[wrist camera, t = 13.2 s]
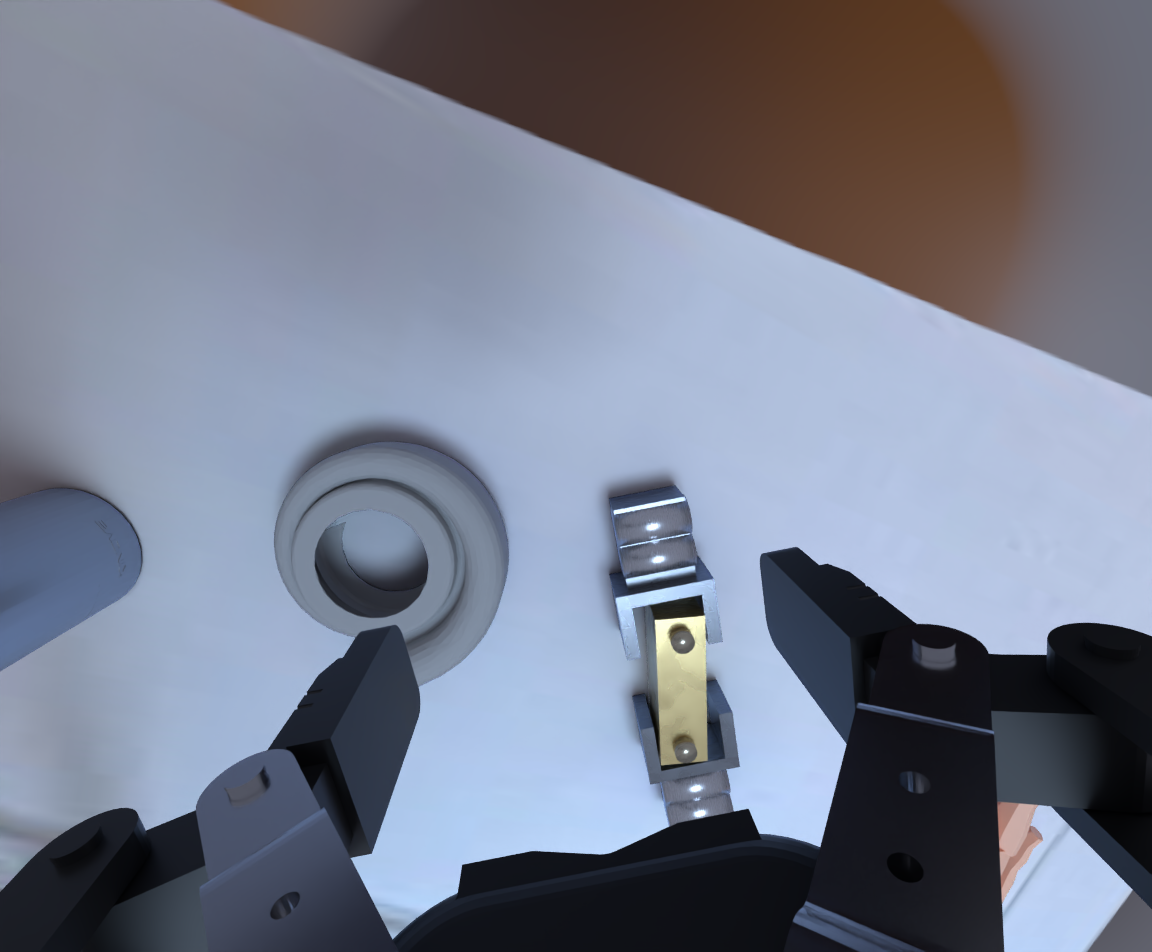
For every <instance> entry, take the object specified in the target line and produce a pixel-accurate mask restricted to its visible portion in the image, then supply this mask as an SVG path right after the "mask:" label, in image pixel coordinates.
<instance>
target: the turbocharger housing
mask: <svg viewBox="0 0 1152 952" xmlns="http://www.w3.org/2000/svg"><path fill="white" fill-rule="evenodd" d="M363 510H375V511H380V512H385V513H389V514H391V515H393V516H395V517H397V518H399V519H401V520H403V521H404V522H405V523H406V524H408V525H409V526H410V527H411V528H412V529H413V530H414V531H415V533H416V534H417V535H418V537H419V538H420V539H421V541H422V543H423V545H424V548H425V550H426V553H427V558H428V575H427V581H426V582H425V583H423V584H422V585H420V586H418V587H416V588H413V589H410V590H408V591H397V592H390V591H386V590H381V589H377V588H375V587H373V586H371V585H369V584H367V583H365V582H364V581H363V580H362V579H360V578H359V577H358V576H357V575H356V574H355V573H354V571H353V570H352V569H351V567H350V566H349V565H348V563H347V560H346V557H345V554H344V552H343V546H342V534H343V529H344V525H345V523H346V522H344V523H342V524H339V525H337V526H334V527H332V528H329V529H327V530H325V529H326V528H327V527H328V526H329V525H331V524H332V523H333V522H334V521H335V520H337V519H338V518H339V517H342V516H344V515H346V514H349V513H351V512H354V511H363ZM274 548H275V558H276V562H277V566H278V570H279V573H280V575H281V578H282V580H283V583H284V584H285V586H286V588H287V590H288V592H289V593H290V594H291V596H292V597H293V598H294V600H295V601H296V602H297V604H298V605H299V606H300V607H301V608H302V609H303V610H304V611H305V612H306V613H307V614H308V615H310V616H311V617H312V618H313V619H315V620H316V621H317V622H319V623H320V624H322V625H324V626H326V627H328V628H330V629H331V630H333V631H336V632H339V633H342V634H344V635H347V636H352V637H357V635H358V634H359V633H360V632H361V631H365V630H370V629H375V628H381V627H386V626H391V625H397V626H398V627H399V628H400V630H401V632H402V634H403V637H404V641H405V644H406V647H407V651H408V654H409V657H410V661H411V664H412V667H413V671H414V674H415V677H416V681H417V684H418V687H419V686H421V685H423V684H425V683H427V682H429V681H432V680H434V679H436V678H438V677H440V676H442V675H443V674H445V673H446V672H448V671H449V670H451V669H452V668H454V667H455V666H456V665H458V664H459V663H460V662H461V661H463V660H464V659H465V658H466V657H467V656H468V655H469V654H470V653H471V652H472V651H473V650H474V648H475V647H476V646H477V645H478V644H479V642H480V641H481V640H482V638H483V637H484V636H485V634H486V632H487V631H488V629H489V627H490V625H491V623H492V621H493V619H494V617H495V615H496V612H497V609H498V606H499V603H500V600H501V596H502V593H503V589H504V586H505V582H506V578H507V572H508V563H509V550H508V541H507V536H506V531H505V527H504V524H503V521H502V518H501V515H500V513H499V511H498V509H497V506H496V504H495V503H494V501H493V499H492V498H491V496H490V494H489V493H488V492H487V490H486V489H485V487H484V486H483V485H482V484H481V482H480V481H479V480H478V479H477V478H476V477H475V476H474V475H473V474H472V473H471V472H470V471H468V470H467V469H466V468H465V467H464V466H462V465H461V464H459V463H458V462H457V461H455V460H453V459H452V458H450V457H448V456H447V455H444V454H442V453H440V452H438V451H435V450H433V449H430V448H427V447H424V446H421V445H416V444H410V443H404V442H377V443H370V444H366V445H362V446H358V447H355V448H352V449H349V450H346V451H343V452H340V453H337V454H335V455H332V456H330V457H328V458H326V459H324V460H322V461H321V462H319V463H318V464H316V465H315V466H313V467H312V468H311V469H309V470H308V471H307V472H306V473H305V474H304V475H303V476H302V477H301V478H300V479H299V480H298V481H297V482H296V483H295V484H294V486H293V487H292V489H291V490H290V492H289V493H288V494H287V496H286V498H285V500H284V502H283V504H282V506H281V508H280V511H279V514H278V517H277V521H276V526H275V532H274Z"/></svg>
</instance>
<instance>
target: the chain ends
mask: <svg viewBox="0 0 1152 952" xmlns="http://www.w3.org/2000/svg"><path fill="white" fill-rule="evenodd" d="M609 502H610V507H611V517H612V522H613V528H614V532H615V537H616V543H617V550H618V555H619V560H620V565H621V569H622V572H619V573H613V574H609V575H610V580H611V585H612V590H613V596H614V601H615V606H616V612H617V617H618V622H619V628H620V633H621V637H622V641H623V645H624V649H625V653H626V657H627V660H632V659H637V658H641V656H640V650H639V645H638V639H637V633H636V628H635V622H634V617H633V611H632V608H636V607H641V606H646V605H651V604H656V603H661V602H666V601H671V600H677V599H682V598H687V597H692V596H694V597H695V599H696V600H697V602H698V604H699V606H700V607H701V609H702V611H703V613H704V615H705V633H706V640H707V641H708V643H709V644H713V643H718V642H723V641H722V633H721V626H720V619H719V611H718V604H717V597H716V590H715V582H714V578H713V577H712V575H711V574H710V572H709V571H708V569H707V568H706V566H705V565H704V564H703V562H702V561H701V559H700V558H699V557H697V554H696V548H695V543H694V540H693V536H692V534H691V533H692V519H691V513H690V509H689V506H688V502H687V500H686V497H685V496H684V495H683V494H682V493H681V492H680V491H679V489H678V488H677V487H676V486H675V485H674V486H669V487H664V488H659V489H654V490H649V491H644V492H639V493H633V494H628V495H623V496H618V497H613V498H609ZM706 694H707V703H708V709H709V716H710V723H708V724H707V754H708V761H701V762H691V763H681V764H670V765H661V763H660V759H659V755H658V750H657V744H656V739H655V733H654V728H653V724H652V720H651V716H650V713H649V709H648V705H647V701H646V698H645V694H641V695H636V696H633V702H634V707H635V712H636V718H637V723H638V728H639V734H640V739H641V744H642V749H643V753H644V758H645V762H646V767H647V771H648V775H649V780H650V784H654V783H659V782H660V784H661V789H662V796H663V802H664V806H665V811H666V816H667V820H668V824H669V827H670V826H672V825H674V824H676V823H679V822H684V821H689V820H694V819H699V818H704V817H709V816H714V815H720V814H725V813H730V812H734V811H733V806H732V802H731V798H730V794H729V793H730V784H729V779H728V775H727V771H726V769H731V768H736V767H740V765H739V758H738V750H737V743H736V736H735V728H734V721H733V714H732V710H731V708H730V706H729V704H728V702H727V700H726V698H725V696H724V694H723V692H722V690H721V688H720V686H719V684H718V682H717V680H712V681H707V682H706Z"/></svg>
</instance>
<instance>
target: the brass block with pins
mask: <svg viewBox="0 0 1152 952" xmlns="http://www.w3.org/2000/svg"><path fill="white" fill-rule="evenodd" d="M644 608H645V630H646V651H647V673H648V695H649V713H650V716H651V720H652V724H653V728H654V733H655V739H656V744H657V750H658V755H659V759H660V763H661V765H670V764H681V763H691V762H701V761H708V754H707V694H706V633H705V615H704V613H703V611H702V609H701V607H700V606H699V604H698V602H697V600H696V599H695V597H694V596H692V597H687V598H682V599H677V600H671V601H666V602H661V603H656V604H651V605H646V606H644Z"/></svg>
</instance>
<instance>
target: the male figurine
mask: <svg viewBox="0 0 1152 952" xmlns="http://www.w3.org/2000/svg"><path fill="white" fill-rule="evenodd" d="M997 806H998V827H999V849H1000V871H1001V893H1002V903H1003V901H1004V899H1005V897H1006V895H1007V894H1008V892H1009V890H1010V888H1011V886H1012V885H1013V883H1014V880H1015V877H1016V874H1017V871H1018V870H1019V869H1020V868H1021V867H1022V866H1023V865H1024V864H1025V863H1026V862H1027V860H1028V858H1029V856H1030V854H1031V852H1032V850H1033V848H1035V847H1036V846H1037V845H1038V844H1039V843H1041V842H1042V841H1043V838H1042V835H1041V834H1040V832H1039V831H1038V830H1037V829H1036V828H1035V827H1033V826H1030V824H1031V821H1032V818H1033V815H1034V812H1035V809H1036V808H1037V806H1038V805H1032V804H1020V803H1008V802H997Z"/></svg>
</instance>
